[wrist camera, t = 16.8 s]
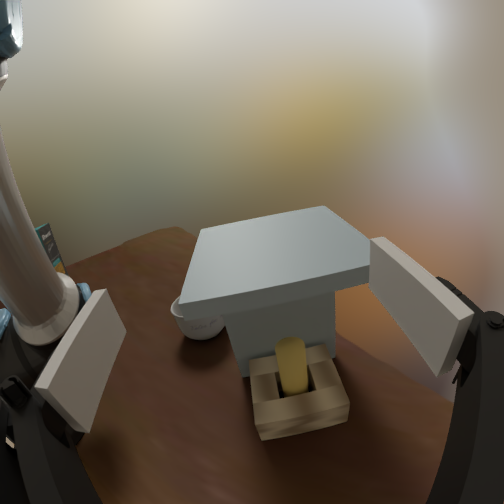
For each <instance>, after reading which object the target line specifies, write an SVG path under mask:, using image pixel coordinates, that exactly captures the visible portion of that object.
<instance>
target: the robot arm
mask: <svg viewBox="0 0 504 504" xmlns="http://www.w3.org/2000/svg"><path fill="white" fill-rule="evenodd" d="M22 31H23V21H22V5H21V0H0V90H1V88H2V86H3V85H4V83H5V81H6V80H7V78H8V70H7V59H8V58H12V57H13V56H14V55H15V54H17V53H18V52H19V51H20V49H21V47H22V43H23V35H22ZM369 289H370V290H371V291H372V292H373V293H374V295H375V296H376V297H377V298H378V300H379V301H380V302H381V304H382V305H383V306H384V307H385V308H386V310H387V311H388V312H389V314H390V315H391V316H392V317H393V319H394V320H395V321H396V323H397V324H398V325H399V326H400V328H401V329H402V330H403V332H404V333H405V334H406V336H407V337H408V338H409V340H410V341H411V342H412V344H413V345H414V346H415V348H416V349H417V350H418V352H419V353H420V355H421V356H422V357H423V359H424V360H425V362H426V363H427V364H428V366H429V367H430V368H431V370H432V371H433V373H434V374H435V376H436V377H439V376H441V375H443V374H444V373H447V372H448V371H450V370H451V369H452V368H453V365H454V363H455V361H456V359H457V360H458V361H459V363H460V364H461V365H460V367H459V369H458V371H457V373H456V375H455V377H454V379H453V382H452V383H453V384H454V383H455V381H456V380H457V388H456V395H455V401H454V407H453V413H452V418H451V423H450V428H449V433H448V437H447V441H446V445H445V449H444V453H443V456H442V460H441V463H440V466H439V469H438V472H437V475H436V478H435V481H434V484H433V487H432V489H431V492H430V495H429V497H428V500H427V502H426V504H503V501H504V316H503V315H502V314H500V313H498V312H495V311H487V312H485V313H484V312H483V311H482V310H481V309H479V308H478V307H477V306H476V305H475V304H474V303H473V302H472V301H471V300H469V298H467V297H466V296H465V295H463V294H462V292H461V291H459V290H458V289H456V287H455V286H454V285H453V284H451V283H450V282H449V281H447V280H445V279H443V278H441V277H434V276H433V275H431V274H430V273H429V272H428V271H427V270H425V269H424V268H423V267H422V266H421V265H419V264H418V263H417V262H416V261H414V260H413V259H412V258H411V257H409V256H408V255H407V254H406V253H404V252H403V251H402V250H400V249H399V248H398V247H397V246H395V245H394V244H393V243H391V242H390V241H388V240H387V239H386V238H385V237H378V238H373V239H370V267H369ZM0 300H1V301H2V302H3V304H4V305H5V306H6V307H7V308H8V310H9V311H10V312H11V313H12V314H13V317H11V313H10V312H9V311H8V310H7V309H5V308H3V309H0V504H103V503H102V501H101V500H100V498H99V496H98V494H97V492H96V491H95V489H94V487H93V485H92V483H91V481H90V479H89V477H88V475H87V473H86V471H85V469H84V466H83V464H82V462H81V460H80V458H79V455H78V453H77V450H76V448H75V445H76V444H77V443H78V441H79V440H80V439H81V437H82V435H83V433H84V432H85V433H89V432H90V429H91V426H92V423H93V420H94V417H95V414H96V410H97V408H98V405H99V402H100V399H101V396H102V393H103V390H104V387H105V385H106V382H107V379H108V377H109V374H110V371H111V369H112V366H113V364H114V361H115V358H116V356H117V353H118V351H119V348H120V346H121V344H122V341H123V339H124V336H125V334H126V332H127V331H126V329H125V327H124V325H123V323H122V321H121V319H120V317H119V315H118V313H117V311H116V309H115V307H114V305H113V303H112V301H111V298H110V296H109V294H108V292H107V290H106V289H102V290H96V291H94V292H93V294H91V291H90V288H89V286H88V284H86V283H82V284H80V283H78V284H77V285H76V284H75V283H74V282H73V280H72V279H71V278H70V277H69V276H67V275H65V274H63V273H59V272H56V271H55V269H54V267H53V265H52V263H51V261H50V260H49V258H48V256H47V254H46V252H45V250H44V248H43V246H42V244H41V242H40V240H39V238H38V235H37V233H36V231H35V229H34V227H33V225H32V223H31V220H30V218H29V215H28V213H27V210H26V208H25V205H24V203H23V200H22V198H21V195H20V193H19V190H18V187H17V184H16V182H15V178H14V175H13V172H12V169H11V166H10V162H9V159H8V155H7V152H6V148H5V144H4V140H3V136H2V132H1V127H0ZM6 437H7V438H8V439H9V440H10V441H12V442H13V443H14V448H12V447H11V446H9V445H8V444H7V443H6Z"/></svg>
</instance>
